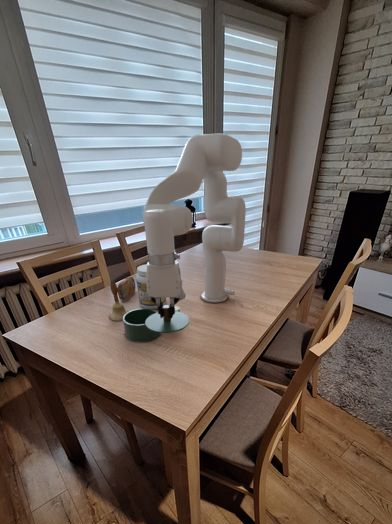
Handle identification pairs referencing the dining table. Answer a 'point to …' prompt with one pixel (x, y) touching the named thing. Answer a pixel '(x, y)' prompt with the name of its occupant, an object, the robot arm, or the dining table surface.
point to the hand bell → (116, 304)
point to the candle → (177, 308)
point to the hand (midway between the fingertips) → (166, 315)
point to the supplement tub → (145, 289)
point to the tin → (126, 288)
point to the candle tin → (138, 325)
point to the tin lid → (167, 321)
